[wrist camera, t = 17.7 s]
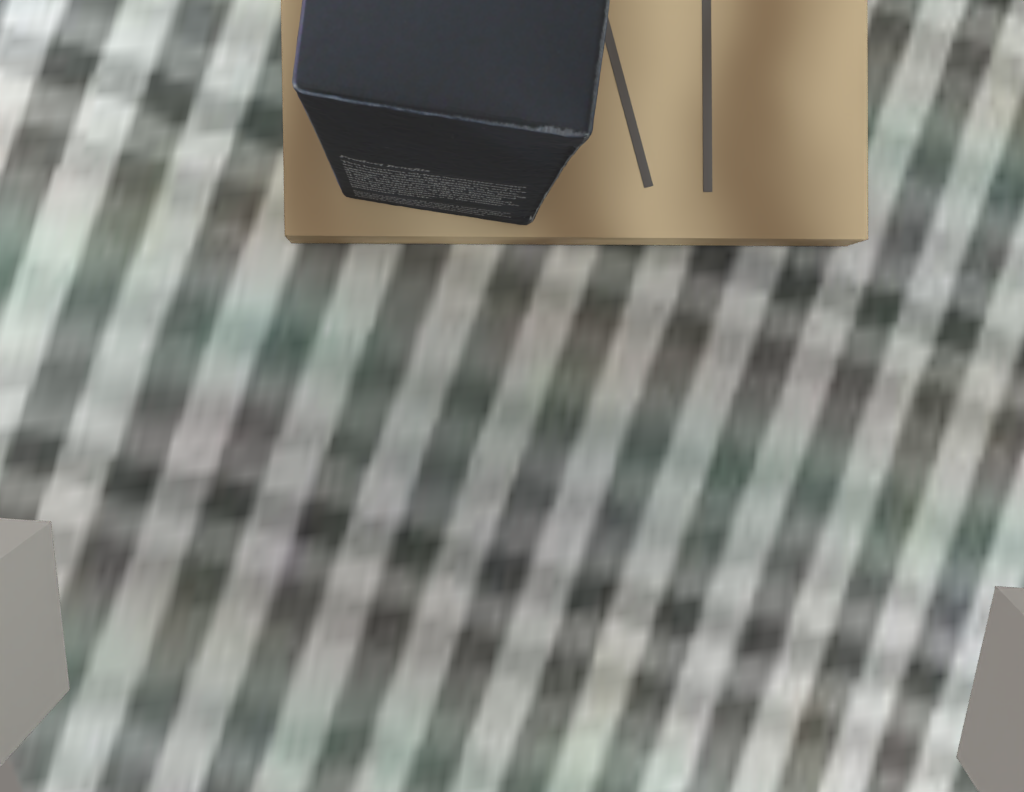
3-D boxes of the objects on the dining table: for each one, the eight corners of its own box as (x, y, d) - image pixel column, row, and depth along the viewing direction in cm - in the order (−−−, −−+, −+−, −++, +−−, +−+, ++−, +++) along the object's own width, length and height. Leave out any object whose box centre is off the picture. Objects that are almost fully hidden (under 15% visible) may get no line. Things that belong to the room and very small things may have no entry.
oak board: (844, -101, 30) (867, -126, 29) (845, 246, 30) (868, 239, 29) (285, -129, 28) (278, -159, 27) (291, 243, 28) (284, 235, 27)
